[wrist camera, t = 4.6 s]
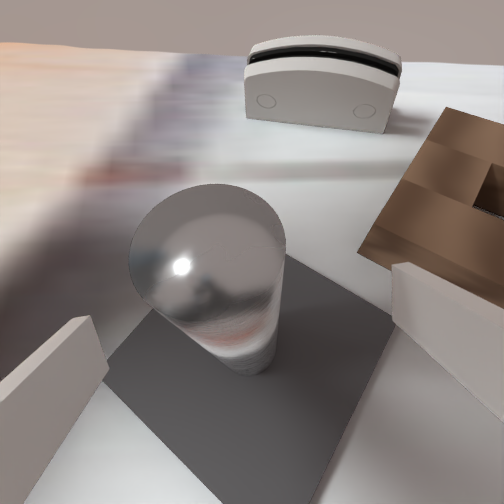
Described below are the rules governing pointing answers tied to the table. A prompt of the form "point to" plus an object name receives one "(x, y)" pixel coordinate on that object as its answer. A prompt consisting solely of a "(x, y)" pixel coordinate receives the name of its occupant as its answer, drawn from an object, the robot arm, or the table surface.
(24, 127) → the table surface
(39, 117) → the table surface
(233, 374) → the mat
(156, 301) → the pin
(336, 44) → the napkin holder
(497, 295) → the socket block
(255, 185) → the table surface
